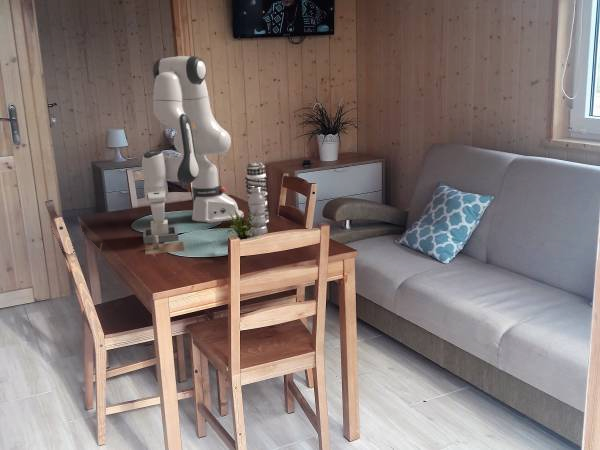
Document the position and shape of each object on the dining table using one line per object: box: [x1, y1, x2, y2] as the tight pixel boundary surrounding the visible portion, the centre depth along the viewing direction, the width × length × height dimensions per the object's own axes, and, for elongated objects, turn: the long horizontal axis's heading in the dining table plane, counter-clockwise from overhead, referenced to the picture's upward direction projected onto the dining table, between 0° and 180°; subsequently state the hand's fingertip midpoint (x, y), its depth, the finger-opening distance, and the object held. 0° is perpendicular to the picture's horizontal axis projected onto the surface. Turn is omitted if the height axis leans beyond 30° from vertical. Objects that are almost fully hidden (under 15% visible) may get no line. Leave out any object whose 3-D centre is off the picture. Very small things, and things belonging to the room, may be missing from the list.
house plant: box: [222, 211, 258, 240], centre depth 237 cm, size 14×14×16 cm
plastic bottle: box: [247, 186, 268, 238], centre depth 256 cm, size 6×7×20 cm
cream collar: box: [150, 219, 169, 235], centre depth 260 cm, size 6×6×4 cm
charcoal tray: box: [142, 225, 180, 245], centre depth 261 cm, size 13×13×4 cm
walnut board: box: [144, 235, 185, 256], centre depth 247 cm, size 14×12×6 cm
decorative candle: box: [244, 161, 270, 224], centre depth 280 cm, size 9×9×25 cm
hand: (159, 228), depth 260 cm, fingers closed on cream collar, 6 cm apart
